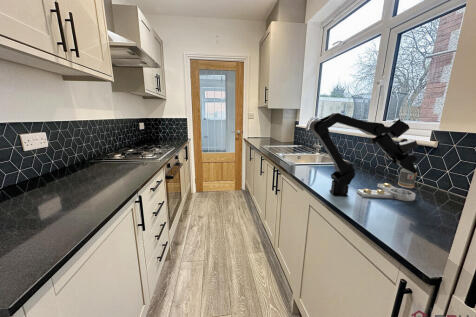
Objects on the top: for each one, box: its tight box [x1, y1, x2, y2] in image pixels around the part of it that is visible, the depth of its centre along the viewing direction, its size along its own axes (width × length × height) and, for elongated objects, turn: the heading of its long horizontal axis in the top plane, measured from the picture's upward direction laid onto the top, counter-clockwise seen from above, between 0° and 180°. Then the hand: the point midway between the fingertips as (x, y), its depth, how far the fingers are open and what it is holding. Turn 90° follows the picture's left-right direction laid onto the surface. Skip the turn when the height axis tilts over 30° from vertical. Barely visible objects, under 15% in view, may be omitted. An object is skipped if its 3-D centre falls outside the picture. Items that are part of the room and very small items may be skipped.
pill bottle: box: [397, 164, 418, 189], centre depth 87 cm, size 6×6×10 cm
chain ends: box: [356, 182, 416, 202], centre depth 96 cm, size 23×18×3 cm
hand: (412, 171), depth 86 cm, fingers closed on pill bottle, 5 cm apart
